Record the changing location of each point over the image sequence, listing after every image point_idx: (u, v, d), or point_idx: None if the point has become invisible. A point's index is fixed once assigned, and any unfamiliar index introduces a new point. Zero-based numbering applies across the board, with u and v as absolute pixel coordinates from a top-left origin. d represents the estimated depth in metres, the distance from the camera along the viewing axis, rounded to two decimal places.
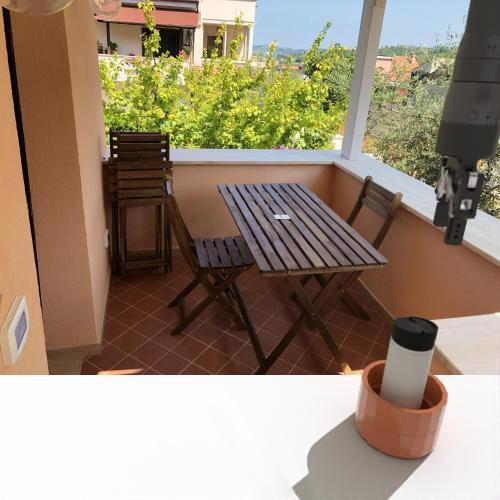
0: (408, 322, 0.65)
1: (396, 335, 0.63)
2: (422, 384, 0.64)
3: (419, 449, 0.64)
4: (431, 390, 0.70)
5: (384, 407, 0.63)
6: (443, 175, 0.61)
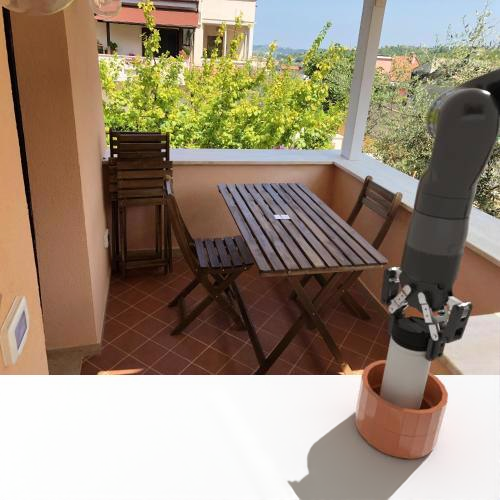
0: (408, 322, 0.65)
1: (396, 335, 0.63)
2: (422, 384, 0.64)
3: (419, 449, 0.64)
4: (431, 390, 0.70)
5: (384, 407, 0.63)
6: (409, 293, 0.61)
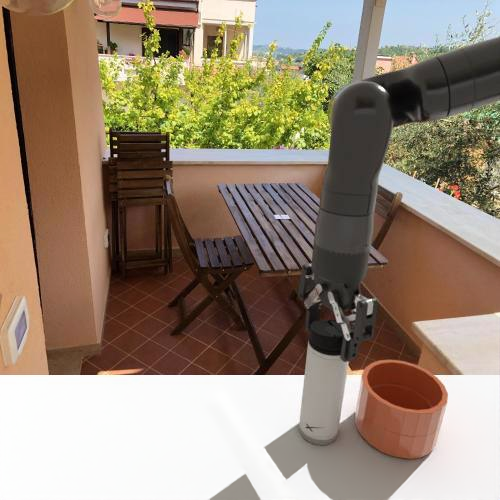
0: (325, 325, 0.64)
1: (311, 339, 0.62)
2: (338, 388, 0.63)
3: (419, 449, 0.64)
4: (431, 390, 0.70)
5: (384, 407, 0.63)
6: (321, 292, 0.60)
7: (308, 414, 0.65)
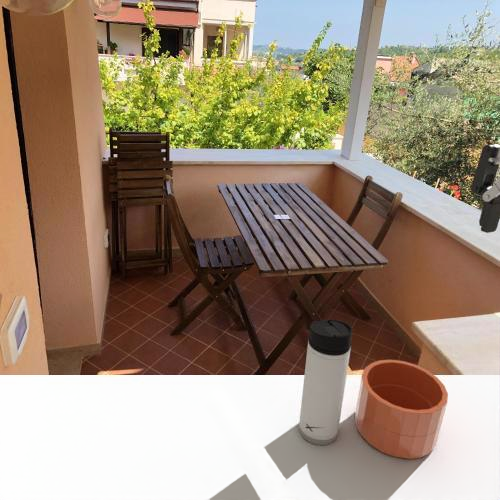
0: (325, 325, 0.64)
1: (311, 339, 0.62)
2: (338, 388, 0.63)
3: (419, 449, 0.64)
4: (431, 390, 0.70)
5: (384, 407, 0.63)
6: None
7: (308, 414, 0.65)
